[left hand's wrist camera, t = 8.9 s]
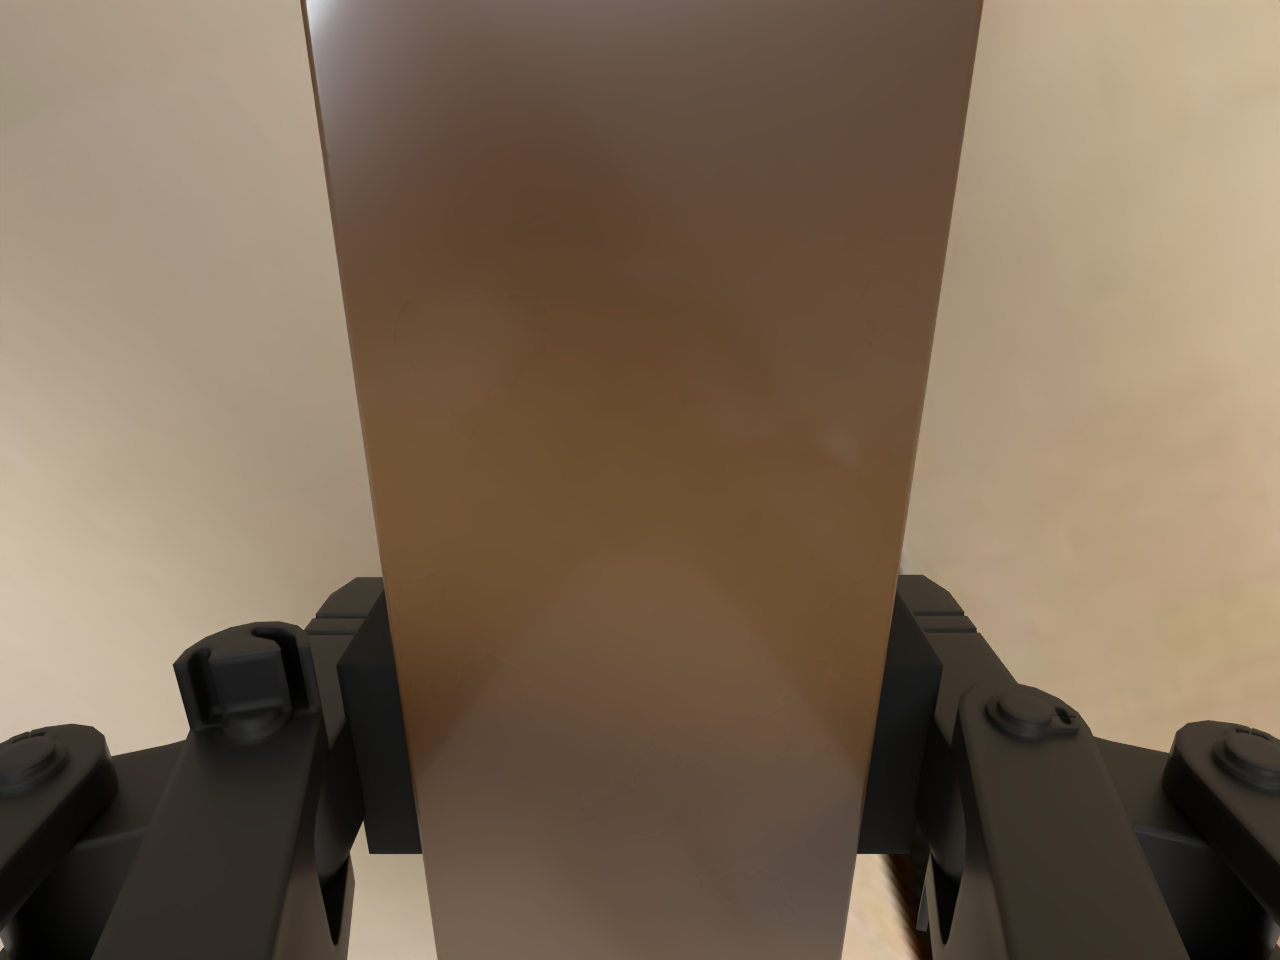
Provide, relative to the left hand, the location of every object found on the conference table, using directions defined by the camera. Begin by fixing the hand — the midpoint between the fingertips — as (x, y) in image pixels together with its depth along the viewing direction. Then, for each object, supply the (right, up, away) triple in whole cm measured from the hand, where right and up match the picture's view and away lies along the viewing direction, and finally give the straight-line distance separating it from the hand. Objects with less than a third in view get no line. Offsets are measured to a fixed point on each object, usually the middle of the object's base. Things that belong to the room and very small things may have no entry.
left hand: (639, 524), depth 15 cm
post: (0, +18, -7) cm, 19 cm away
